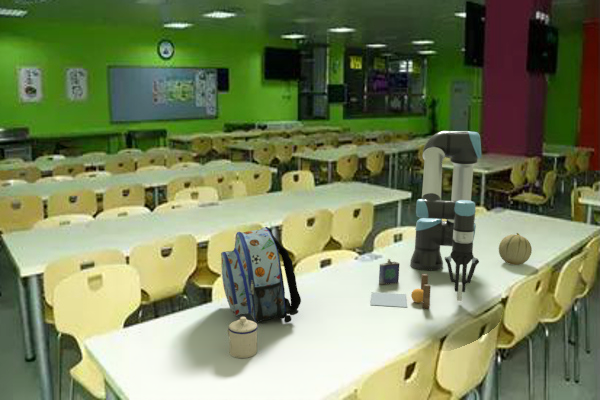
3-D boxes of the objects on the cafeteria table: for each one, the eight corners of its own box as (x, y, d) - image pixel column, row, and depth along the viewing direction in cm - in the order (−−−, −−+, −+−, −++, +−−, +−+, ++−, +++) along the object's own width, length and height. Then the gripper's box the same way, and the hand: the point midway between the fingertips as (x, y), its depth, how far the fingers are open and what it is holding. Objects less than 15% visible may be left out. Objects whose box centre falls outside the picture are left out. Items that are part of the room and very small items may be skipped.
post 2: (422, 306, 217) (423, 284, 215) (429, 306, 216) (430, 284, 215) (422, 309, 214) (423, 286, 213) (429, 309, 214) (430, 286, 212)
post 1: (420, 295, 229) (421, 273, 227) (426, 295, 229) (427, 274, 227) (420, 297, 227) (421, 275, 225) (427, 297, 226) (428, 276, 224)
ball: (410, 298, 224) (411, 285, 223) (424, 300, 223) (426, 287, 222) (410, 304, 219) (412, 290, 218) (425, 305, 218) (426, 292, 217)
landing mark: (371, 292, 231) (371, 292, 231) (406, 294, 229) (406, 294, 229) (370, 305, 218) (370, 304, 218) (407, 307, 216) (407, 307, 216)
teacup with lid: (263, 352, 178) (263, 317, 176) (241, 362, 171) (240, 326, 169) (239, 340, 186) (239, 307, 184) (217, 349, 180) (216, 314, 178)
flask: (380, 285, 240) (381, 261, 238) (377, 283, 243) (378, 259, 241) (399, 283, 243) (400, 259, 241) (396, 281, 246) (397, 257, 244)
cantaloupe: (499, 267, 266) (501, 236, 263) (496, 258, 280) (498, 229, 277) (532, 270, 263) (535, 238, 260) (527, 261, 277) (530, 231, 274)
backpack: (212, 300, 221) (210, 222, 215) (274, 292, 230) (274, 218, 224) (233, 334, 191) (231, 244, 185) (302, 323, 200) (303, 238, 194)
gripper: (446, 242, 212) (442, 301, 217) (482, 244, 210) (477, 304, 215) (444, 237, 219) (441, 295, 224) (478, 239, 218) (474, 297, 222)
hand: (459, 299), depth 219 cm, fingers closed
